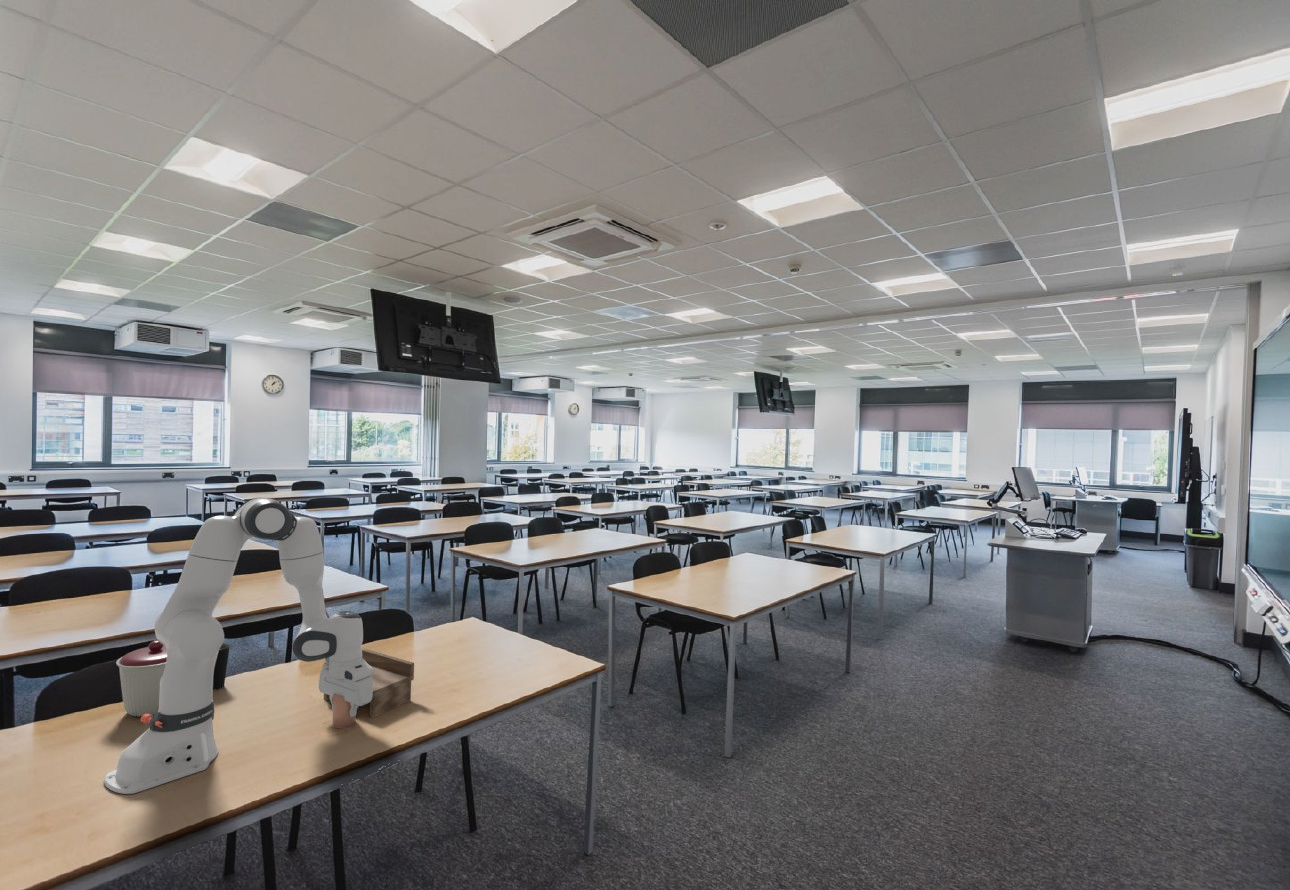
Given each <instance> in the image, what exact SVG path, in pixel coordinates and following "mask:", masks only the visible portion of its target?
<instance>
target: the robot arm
mask: <svg viewBox="0 0 1290 890" xmlns="http://www.w3.org/2000/svg"><path fill="white" fill-rule="evenodd" d="M251 538H256V539H259V540H266V541H275V543H276V545H277V548H278V554H279V556H278V557H279V564H280V568H281V572H282V575H283V578H284V580H285V582H287V584H289V585H291V586H292V587H294V588H295V589H296V590H297V593H298V596H299V600H300V606H301V607H300V609H301V612H302V613H301V614H302V622H301V624H300V628H299V630H298V632H297V635H296V637H295V639H294V641H293V644H292V652H293V654H294V656H295V657H296V658H297V659H298V660H299V661H303V662H309V663H311V662H315V661H321V660H323V659H325V658H328V657H329V661H325V662H324V663H323V664H322V669H321V670H320V674H319V680H318V689H319V692H320V693H321V694H324V693H325V694H327V695H330V699H329V700H330V703H331V710H332V711H333V694H337V695H340V696H342V697H344V700H345V701H347V702H350V705H351V706H352V707H351V709H350V710H348V716H350V717H353V716H355V717H356V716H357V713H358V712H357V710H358V708H359V707H363V706H365V705H367V704H369V703H370V701H371V700H372V695H373V680H372V678H371V676H370V675H372V674H373V668H372V667H371V666H370V665H369V664H368V663H367V662H366V661H365V660H364V659H362V650H363V649H362V644H363V642H364V627H363V624H364V623H363V620H362V617H361V616H360V614H358V613H357V612H354V611H350V610H341V611H336V612H334V614H332V615H330V616H329V614H328V612H327V608H326V603H325V596H324V589H323V580H324V570H325V569H324V568H325V554H324V546H323V542H322V538H321V535H320V531H319V528H318V526H317V523H316V522H315V520H314V519H313V518H311V517H307V516H294V514H292V512H291V511H290V510H289V508H287V506H285V505H284V504H283V503H281V502H279V501H277V500H276V499H273V498H269V497H253V498H251V499H248V500H247V501H245V502H243V504H241V505H240V506H239V507H237V509H235V511H233V512H231V514H230V515H215V516H212V517H210V518H207V519H206V520H205V521H204V522H203V523H202V525H201V527H200V528H199V529H198V532H197V533H196V536H195V537H194V540H193V542H192V544H191V547H190V548H189V551H188V554H187V557H186V560H185V563H184V566H183V569H182V571H181V575H180V577H179V581H178V582H177V585H176V587H175V589H174V590H173V593H172V595H171V596H170V598H169V599H168V601H167V603H166V604H165V607H164V609H163V610H162V612H161V613H159V615H158V617H157V618H156V620H155V623H154V633H155V638H156V640H158V641H159V642H160V643H161V644H163V645H164V646H165V647H166V650H167V660H166V665H165V669H164V673H163V676H162V677H161V679H160V693H159V709H158V711H157V712H156V714H155V715H150V714H144V715H143V717H140V722H141V723H143V724H145V725H146V724H149V728H147V730H146V731H144V732H143V733H142V734H140V735H139V736H138V737H137V738H136V739H135V740H134V741H133V742H131V743H130V744H129V745H128V746H127V747H126V748H124V749H123V750H122V751H121V754H120V755H119V758H118V762H117V765H116V769H113V770H112V771H111V770H110V772H108V773H106V774H105V776H104V781H103V783H104V785H105V787H106V788H107V789H109V790H111V791H112V792H114V793H119V794H125V795H127V794H128V795H129V794H130V795H132V794H136V793H140V792H143V791H146V790H148V789H151V788H154V787H157V786H158V787H159V786H160V785H163V784H166V783H169V782H172V781H175V780H179V779H181V778H184V777H187V776H190V775H192V774H193V775H194V774H196V773H200V772H202V771H205V770H206V769H208V768H209V766H210V763H211V762H212V761H213V760H214V759H215V758H217V756H218V754H219V748H218V746H217V744H216V739H215V734H214V723H213V720H214V718H215V700H214V698H213V695H214V694H213V693H214V692H213V691H214V690H213V674H214V667H215V663H216V659H217V655H218V651H219V648H220V647H221V645H222V644H223V643H224V640H225V632H224V629H223V627H222V624H221V623H220V621H219V620H218V619H216V618H215V617H213V613H214V611H215V608H216V607H217V605H218V603H219V602H220V600H221V598H222V597H223V595H225V594H226V593H227V592H228V590H229V587H230V586H231V582H232V580H233V577H234V573H235V570H236V567H237V563H238V560H239V557H240V554H241V551H242V548H243V547H244V545H245V544H246V542H247V541H248V540H250V539H251Z"/></svg>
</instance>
